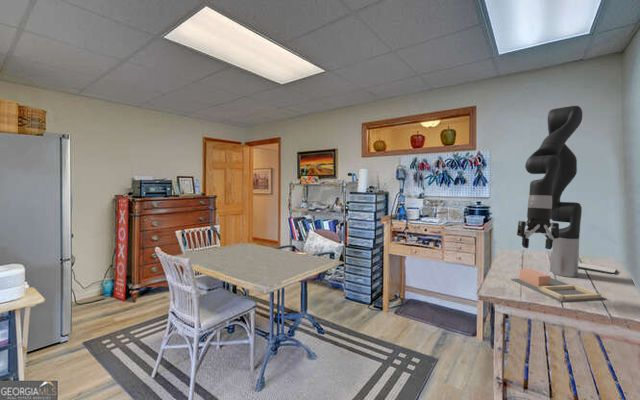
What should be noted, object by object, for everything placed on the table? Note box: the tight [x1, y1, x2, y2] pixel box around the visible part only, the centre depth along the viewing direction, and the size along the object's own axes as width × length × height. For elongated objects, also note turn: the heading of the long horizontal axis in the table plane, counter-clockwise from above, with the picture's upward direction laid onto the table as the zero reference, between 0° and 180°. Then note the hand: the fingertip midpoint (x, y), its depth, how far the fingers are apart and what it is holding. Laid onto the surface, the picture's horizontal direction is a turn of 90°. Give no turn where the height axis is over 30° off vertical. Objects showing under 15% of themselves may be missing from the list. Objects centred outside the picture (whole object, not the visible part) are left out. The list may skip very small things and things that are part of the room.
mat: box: [510, 277, 608, 303], centre depth 117 cm, size 24×18×2 cm
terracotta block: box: [518, 268, 551, 287], centre depth 123 cm, size 10×5×4 cm, turn 5°
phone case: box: [578, 262, 618, 275], centre depth 142 cm, size 9×2×16 cm
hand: (536, 248), depth 115 cm, fingers open, 8 cm apart
